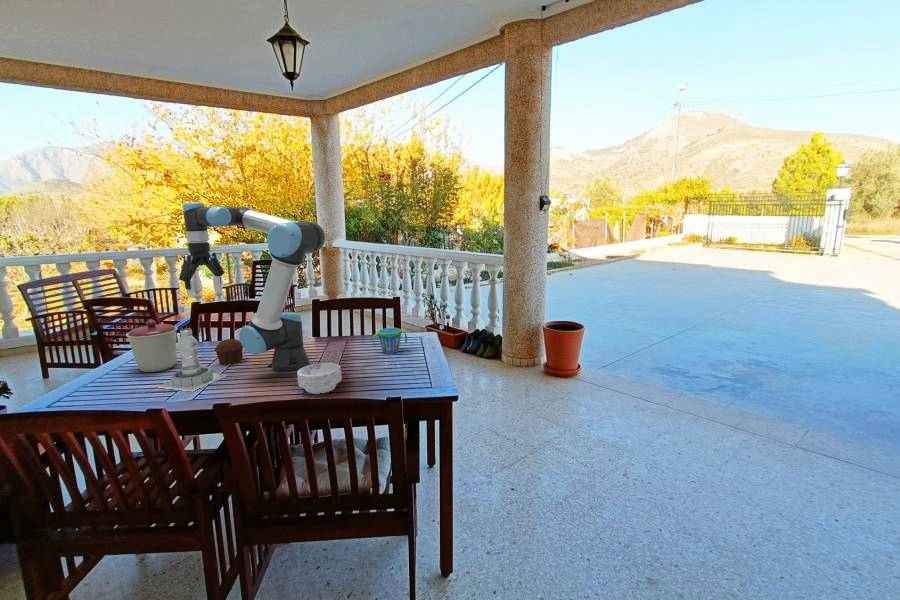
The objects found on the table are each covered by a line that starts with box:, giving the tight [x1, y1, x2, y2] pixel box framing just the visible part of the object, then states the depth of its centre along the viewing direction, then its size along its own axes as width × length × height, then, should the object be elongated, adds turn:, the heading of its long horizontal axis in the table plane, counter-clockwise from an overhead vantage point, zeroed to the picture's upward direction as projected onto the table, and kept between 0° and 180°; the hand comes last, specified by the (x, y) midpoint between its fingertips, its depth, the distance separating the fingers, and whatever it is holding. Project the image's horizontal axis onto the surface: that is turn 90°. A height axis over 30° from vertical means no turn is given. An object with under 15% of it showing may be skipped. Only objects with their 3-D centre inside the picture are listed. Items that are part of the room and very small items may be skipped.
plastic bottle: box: [176, 328, 202, 378], centre depth 169 cm, size 6×7×20 cm
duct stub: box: [157, 366, 227, 393], centre depth 170 cm, size 16×16×4 cm
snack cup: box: [372, 327, 408, 354], centre depth 202 cm, size 16×10×10 cm
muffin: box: [214, 338, 244, 366], centre depth 194 cm, size 12×11×10 cm
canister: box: [125, 319, 178, 373], centre depth 186 cm, size 18×18×21 cm
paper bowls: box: [296, 362, 342, 395], centre depth 160 cm, size 15×15×8 cm
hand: (205, 294), depth 180 cm, fingers open, 13 cm apart
